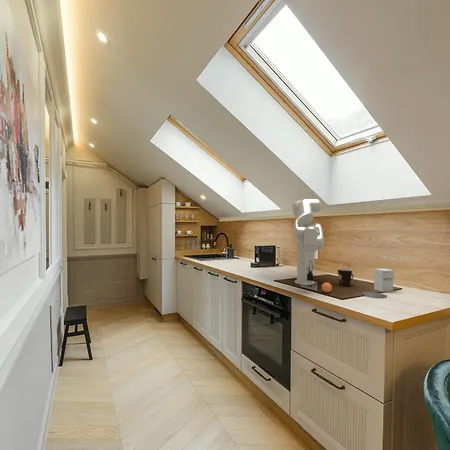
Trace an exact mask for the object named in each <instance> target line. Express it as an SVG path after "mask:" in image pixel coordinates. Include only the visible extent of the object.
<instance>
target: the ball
mask: <svg viewBox="0 0 450 450" xmlns="http://www.w3.org/2000/svg"><path fill="white" fill-rule="evenodd" d="M332 289H333V286H332V284H331V283H330V282H323V283H322V285H321V290H322V291H323V292H324V293H330V292H331V291H332Z"/></svg>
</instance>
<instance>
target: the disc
mask: <svg viewBox="0 0 450 450" xmlns="http://www.w3.org/2000/svg"><path fill="white" fill-rule="evenodd" d="M361 293H363V294H364V296H363V297H367V298H373V299H387V298H388V295H387V294H384V293H382V292H381V293H380V292H376V291H375V292H373V291H363V292H361Z"/></svg>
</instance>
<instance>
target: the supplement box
mask: <svg viewBox="0 0 450 450" xmlns="http://www.w3.org/2000/svg"><path fill="white" fill-rule="evenodd" d="M394 272H395V271H394V270H392V269H389V268H374V275H373V276H374V277H373V278H374V279H373V282H374V283H373V285H374V286H373V287H374V288H373V290H375V291H379V292H381V293H384V292H387V293H388V292H389V293H390V292H391V293H392V292H394V274H395V273H394Z"/></svg>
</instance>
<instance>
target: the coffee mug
mask: <svg viewBox="0 0 450 450" xmlns="http://www.w3.org/2000/svg"><path fill="white" fill-rule="evenodd" d="M337 274H338V276H337V277H338V284H339V286H342V287H350V286H351V283H352V280H353V279H354V274H353V269H351V268H337Z"/></svg>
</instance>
